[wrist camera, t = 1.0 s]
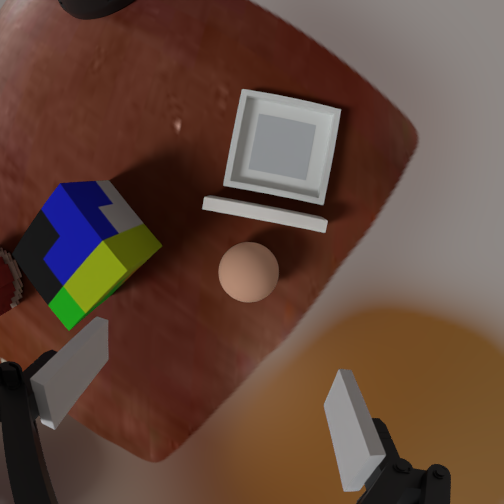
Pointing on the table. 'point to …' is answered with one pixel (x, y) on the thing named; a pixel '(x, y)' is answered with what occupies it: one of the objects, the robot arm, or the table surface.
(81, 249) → the puzzle toy
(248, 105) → the light gray square tray
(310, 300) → the table surface
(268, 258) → the ball
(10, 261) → the cake
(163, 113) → the table surface
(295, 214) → the low wall
